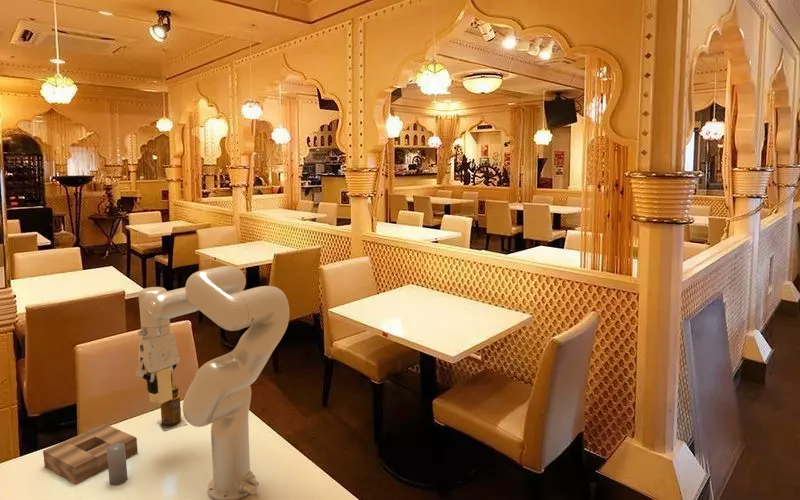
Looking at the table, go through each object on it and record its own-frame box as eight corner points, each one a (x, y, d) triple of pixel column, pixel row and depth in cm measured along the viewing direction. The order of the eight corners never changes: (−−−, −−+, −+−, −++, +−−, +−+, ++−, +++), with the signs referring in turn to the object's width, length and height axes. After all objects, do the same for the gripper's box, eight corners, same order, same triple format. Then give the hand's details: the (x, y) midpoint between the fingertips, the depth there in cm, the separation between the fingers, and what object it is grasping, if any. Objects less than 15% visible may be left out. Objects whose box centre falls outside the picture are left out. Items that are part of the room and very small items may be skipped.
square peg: (172, 398, 154) (170, 366, 153) (159, 404, 151) (156, 372, 149) (163, 395, 157) (160, 363, 155) (149, 401, 153) (147, 368, 151)
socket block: (137, 452, 157) (136, 437, 156) (76, 484, 141) (74, 467, 140) (106, 438, 165) (105, 423, 164) (44, 466, 149) (42, 450, 148)
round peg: (131, 478, 144) (128, 445, 142) (115, 487, 140) (112, 453, 139) (121, 473, 146) (118, 441, 145) (106, 482, 143) (103, 448, 141)
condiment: (179, 415, 180) (177, 382, 178) (187, 424, 174) (185, 391, 172) (156, 421, 176) (154, 388, 174) (164, 431, 169) (161, 397, 167)
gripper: (136, 341, 141) (142, 404, 144) (189, 324, 155) (193, 382, 158) (120, 336, 145) (125, 398, 148) (173, 320, 159) (177, 377, 162)
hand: (160, 389), depth 153 cm, fingers closed on square peg, 4 cm apart
